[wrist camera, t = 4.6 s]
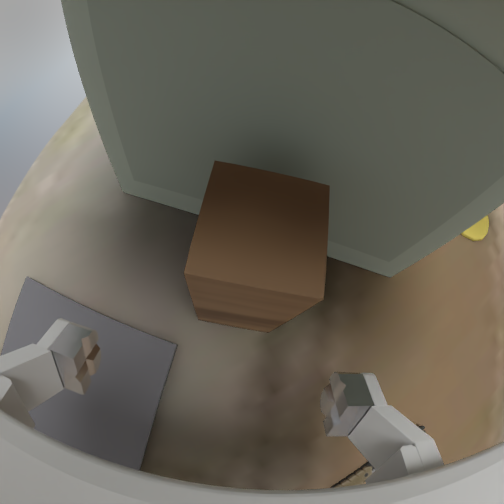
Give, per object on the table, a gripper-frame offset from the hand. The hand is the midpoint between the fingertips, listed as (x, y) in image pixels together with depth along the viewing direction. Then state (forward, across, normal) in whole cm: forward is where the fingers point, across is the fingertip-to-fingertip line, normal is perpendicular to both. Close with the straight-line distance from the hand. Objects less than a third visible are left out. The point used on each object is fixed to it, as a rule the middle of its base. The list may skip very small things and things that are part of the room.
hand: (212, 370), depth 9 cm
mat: (+4, +10, +11) cm, 16 cm away
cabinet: (+15, -2, +1) cm, 15 cm away
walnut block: (+12, -1, +4) cm, 12 cm away
